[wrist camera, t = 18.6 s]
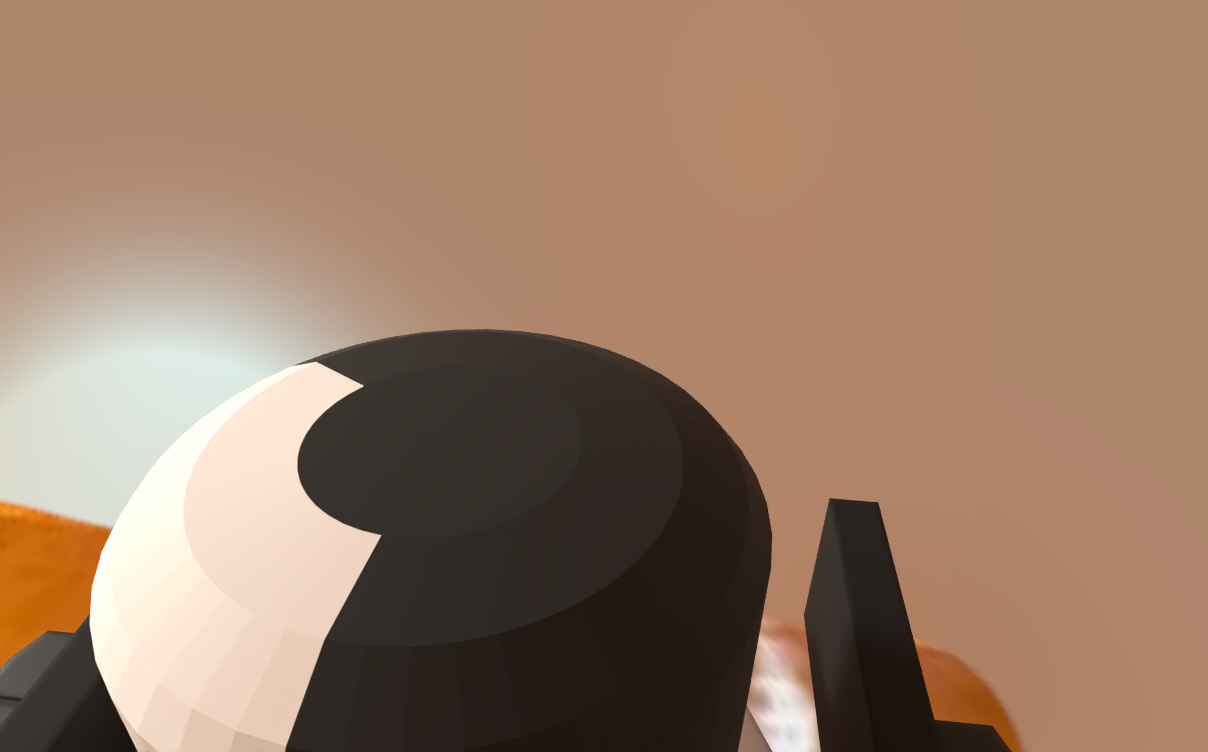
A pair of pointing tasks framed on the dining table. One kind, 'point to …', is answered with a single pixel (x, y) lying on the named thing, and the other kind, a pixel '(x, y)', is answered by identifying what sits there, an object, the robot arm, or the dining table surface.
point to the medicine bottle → (441, 561)
